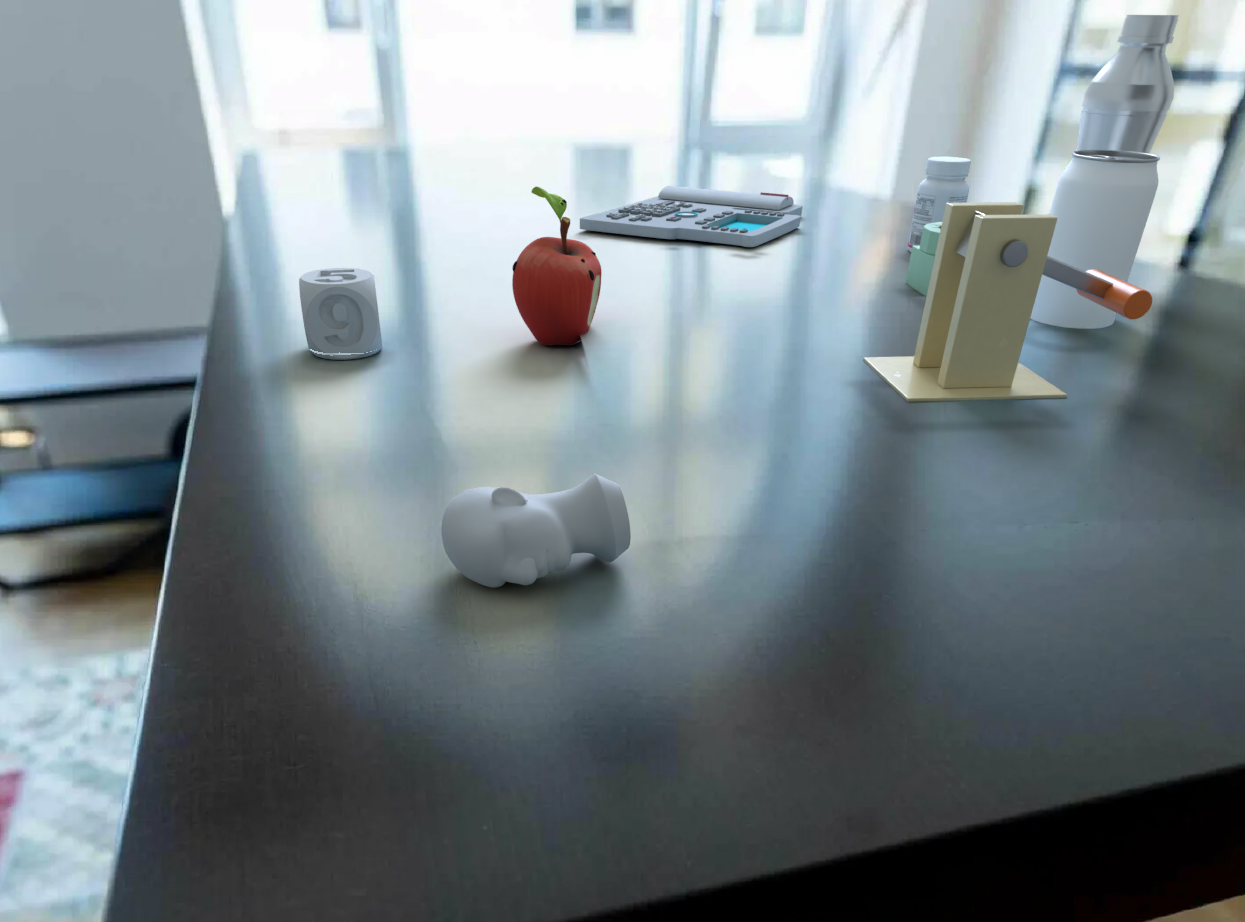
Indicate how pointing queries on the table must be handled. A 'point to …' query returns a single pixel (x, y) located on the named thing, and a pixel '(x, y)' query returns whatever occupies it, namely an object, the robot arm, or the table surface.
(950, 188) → the pill bottle
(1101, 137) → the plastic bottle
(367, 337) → the die
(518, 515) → the white mannequin head
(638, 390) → the table surface
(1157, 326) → the table surface
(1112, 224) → the can
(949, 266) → the switch bracket
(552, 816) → the table surface
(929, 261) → the button block
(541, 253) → the apple
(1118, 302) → the switch lever
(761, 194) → the office telephone
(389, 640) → the table surface
